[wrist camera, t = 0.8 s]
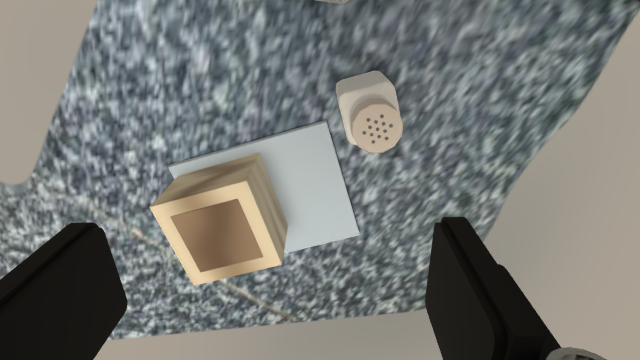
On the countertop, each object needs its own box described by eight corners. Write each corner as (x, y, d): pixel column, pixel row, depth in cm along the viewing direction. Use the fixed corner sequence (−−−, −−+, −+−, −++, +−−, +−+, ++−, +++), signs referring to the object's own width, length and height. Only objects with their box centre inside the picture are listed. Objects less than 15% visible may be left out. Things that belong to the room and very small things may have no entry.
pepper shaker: (345, 125, 32) (353, 166, 23) (333, 80, 30) (338, 106, 21) (389, 113, 31) (415, 150, 23) (380, 67, 30) (404, 88, 21)
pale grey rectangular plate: (326, 119, 31) (326, 122, 31) (358, 230, 36) (359, 234, 35) (171, 164, 33) (168, 167, 33) (222, 264, 38) (220, 268, 37)
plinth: (259, 152, 32) (246, 181, 26) (288, 225, 35) (281, 265, 30) (178, 175, 33) (149, 208, 27) (213, 244, 36) (193, 286, 31)
